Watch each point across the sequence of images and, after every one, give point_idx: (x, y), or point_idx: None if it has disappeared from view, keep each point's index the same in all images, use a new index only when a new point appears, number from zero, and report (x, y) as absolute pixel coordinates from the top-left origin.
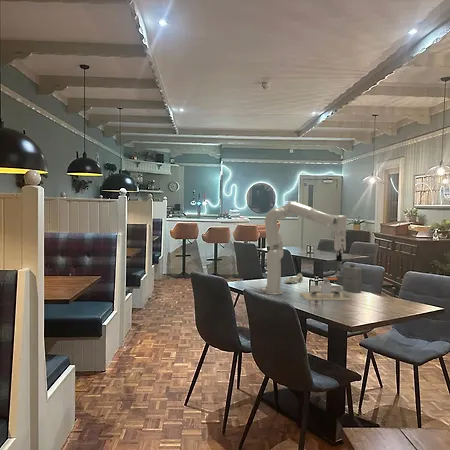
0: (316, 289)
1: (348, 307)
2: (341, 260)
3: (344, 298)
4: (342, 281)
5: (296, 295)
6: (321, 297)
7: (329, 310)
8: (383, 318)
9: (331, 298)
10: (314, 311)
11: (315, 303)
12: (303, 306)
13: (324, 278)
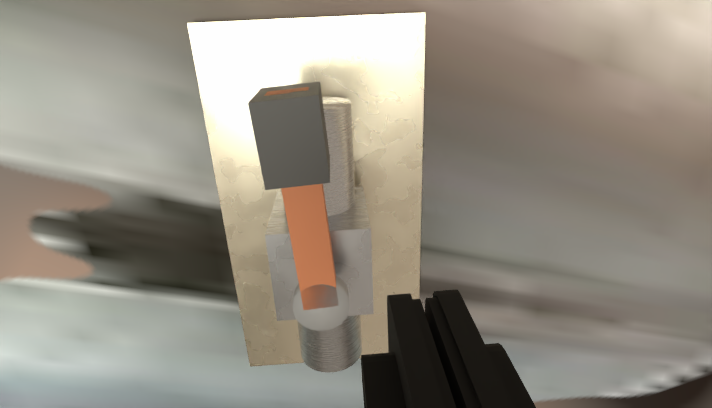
0: (360, 316)
1: (665, 116)
2: (460, 303)
3: (423, 76)
4: (321, 95)
5: (279, 377)
6: (413, 260)
7: (705, 259)
8: None
9: (419, 187)
10: (701, 338)
11: (516, 304)
12: (580, 373)
13: (343, 319)
